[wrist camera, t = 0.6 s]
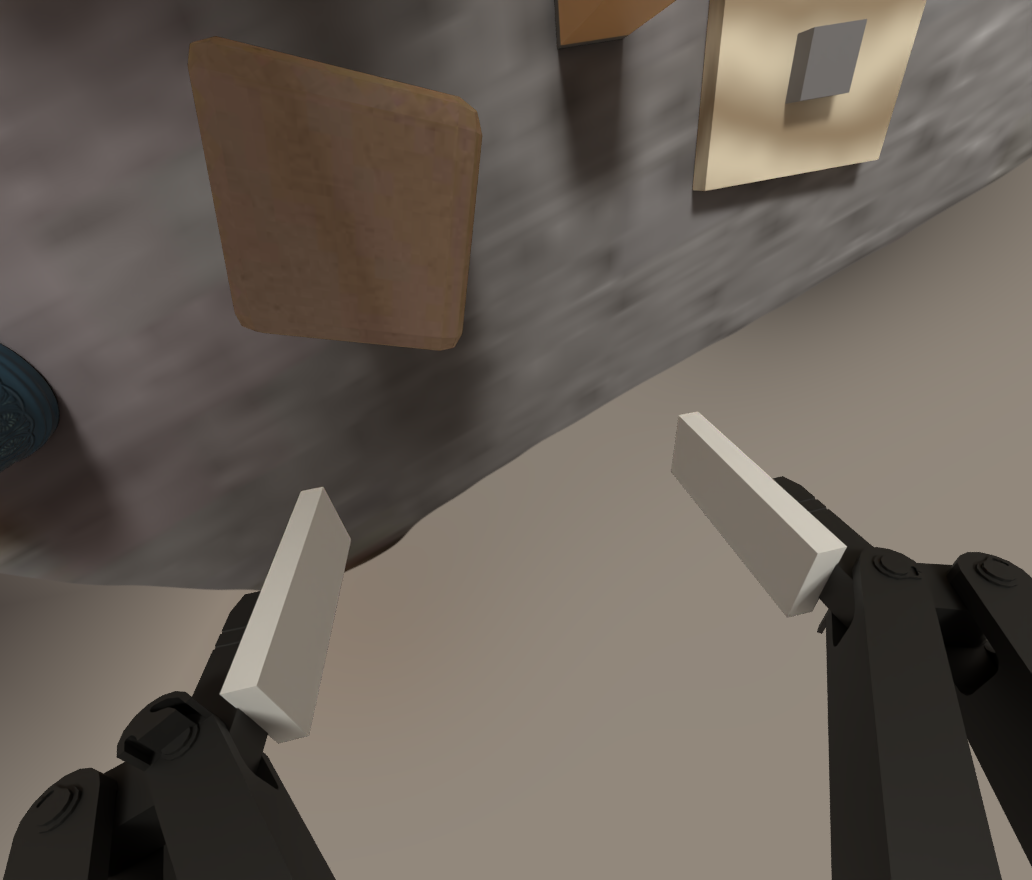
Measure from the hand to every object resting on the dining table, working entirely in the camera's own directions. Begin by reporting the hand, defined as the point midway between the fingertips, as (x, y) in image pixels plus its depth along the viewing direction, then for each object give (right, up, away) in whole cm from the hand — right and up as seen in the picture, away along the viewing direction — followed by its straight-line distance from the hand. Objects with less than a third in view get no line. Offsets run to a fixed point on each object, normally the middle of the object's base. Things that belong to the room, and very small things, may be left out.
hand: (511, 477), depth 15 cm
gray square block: (+23, +30, +16) cm, 41 cm away
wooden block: (-10, +21, +18) cm, 29 cm away
